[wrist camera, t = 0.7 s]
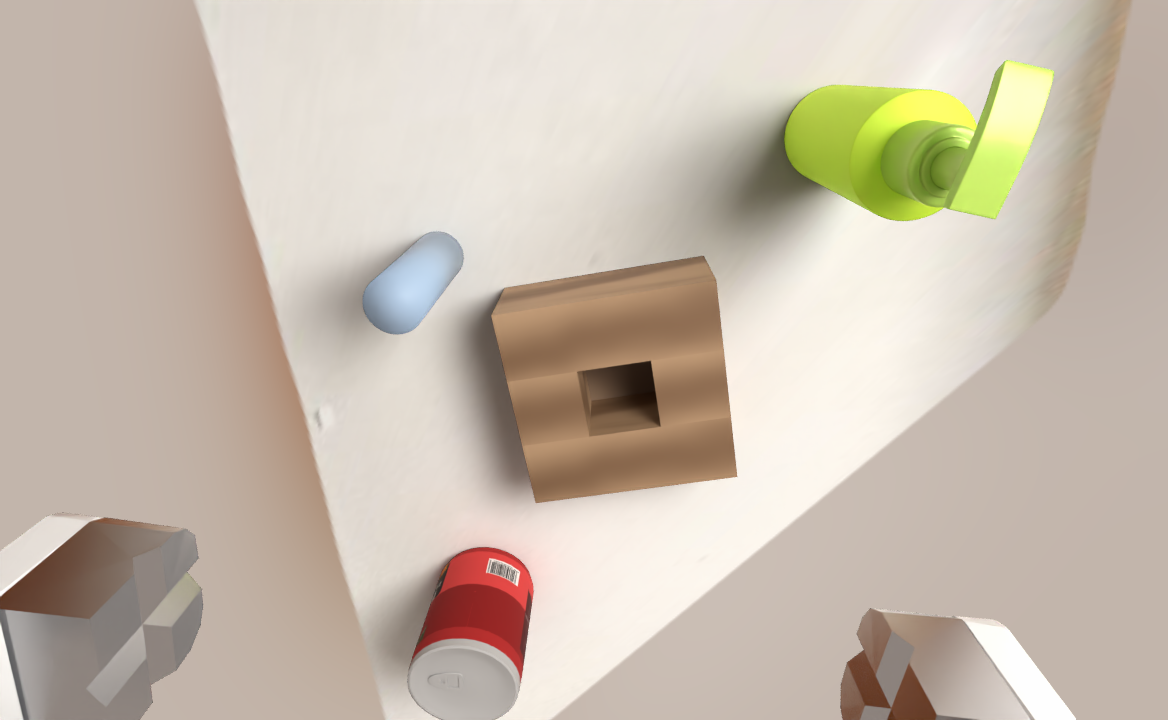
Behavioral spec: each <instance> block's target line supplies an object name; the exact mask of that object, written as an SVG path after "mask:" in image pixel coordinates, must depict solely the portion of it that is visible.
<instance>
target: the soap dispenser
mask: <svg viewBox="0 0 1168 720" xmlns="http://www.w3.org/2000/svg"><path fill="white" fill-rule="evenodd" d="M1053 77H1054V71H1052V70H1049V69H1045V68H1040V67H1036V66H1032V65H1027V64H1023V63H1019V62H1014V61H1010V60H1006V61H1005V62H1004V63H1003V64H1002V65H1001V66H1000V67H999V68H998V70H997V71H996V73H995V75H994V78H993V81H992V85H991V88H990V91H989V95H988V98H987V101H986V104H985V106H984V109H983V112H982V115H981V117H980V120H979V122H978V125H976V122H975V120H974V118H973V116H972V114H971V113H970V111H969V110H968V109H967V108H966V107H965V105H964V104H962V103H961V102H960V101H959V100H957V99H956V98H954V97H953V96H951V95H949V94H946V93H943V92H940V91H935V90H923V89H905V88H886V87H868V86H850V85H831V86H826V87H822V88H820V89H817V90H815V91H813V92H812V93H810V94H809V95H807V96H806V97H805V98H804V99H802V100H801V101H800V102H799V104H798V105H797V106H796V107H795V109H794V110H793V112H792V113H791V115H790V117H789V120H788V122H787V125H786V129H785V137H784V142H785V150H786V153H787V156H788V159H789V161H790V162H791V164H792V165H793V167H794V168H795V169H796V170H797V171H798V172H799V173H800V174H802V175H803V176H805V177H807V178H809V179H810V180H812V181H814V182H816V183H818V184H820V185H822V186H824V187H826V188H827V189H829V190H831V191H833V192H835V193H837V194H839V195H841V196H842V197H844V198H846V199H848V200H850V201H852V202H854V203H856V204H857V205H859V206H861V207H863V208H865V209H867V210H869V211H871V212H872V213H874V214H876V215H878V216H881V217H883V218H886V219H890V220H896V221H910V220H916V219H921V218H924V217H927V216H930V215H932V214H934V213H936V212H938V211H940V210H941V209H943V208H944V207H945V208H947V209H950V210H955V211H959V212H964V213H969V214H973V215H978V216H982V217H987V218H991V219H996V217H997V215H998V213H999V211H1000V209H1001V207H1002V205H1003V203H1004V201H1005V199H1006V197H1007V195H1008V193H1009V191H1010V189H1011V187H1012V185H1013V183H1014V181H1015V179H1016V177H1017V175H1018V173H1019V170H1020V168H1021V166H1022V164H1023V162H1024V160H1025V157H1026V155H1027V153H1028V151H1029V148H1030V146H1031V144H1032V141H1033V139H1034V136H1035V134H1036V131H1037V128H1038V126H1039V123H1040V120H1041V117H1042V114H1043V111H1044V108H1045V105H1046V102H1047V98H1048V95H1049V92H1050V88H1051V85H1052V81H1053Z"/></svg>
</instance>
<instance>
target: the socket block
mask: <svg viewBox="0 0 1168 720" xmlns="http://www.w3.org/2000/svg"><path fill="white" fill-rule="evenodd" d="M491 317H492V321H493V325H494V330H495V334H496V338H497V342H498V346H499V351H500V355H501V359H502V363H503V367H504V372H505V376H506V380H507V384H508V388H509V393H510V397H511V401H512V405H513V409H514V414H515V418H516V422H517V426H518V430H519V435H520V439H521V443H522V447H523V451H524V456H525V460H526V464H527V468H528V472H529V477H530V481H531V485H532V489H533V493H534V498H535V502H536V503H540V502H548V501H555V500H563V499H571V498H578V497H586V496H594V495H601V494H609V493H617V492H624V491H632V490H640V489H647V488H655V487H663V486H670V485H678V484H686V483H693V482H701V481H709V480H716V479H724V478H732V477H737V470H736V461H735V452H734V442H733V433H732V423H731V414H730V405H729V395H728V386H727V377H726V367H725V358H724V349H723V339H722V330H721V321H720V311H719V302H718V293H717V283H716V279H715V277H714V275H713V273H712V271H711V269H710V267H709V265H708V263H707V261H706V259H705V257H704V256H700V257H693V258H687V259H681V260H675V261H669V262H662V263H656V264H650V265H644V266H638V267H632V268H625V269H619V270H613V271H607V272H601V273H594V274H588V275H582V276H576V277H570V278H564V279H557V280H551V281H545V282H539V283H533V284H526V285H520V286H514V287H508V288H504V290H503V292H502V294H501V296H500V298H499V301H498V303H497V305H496V307H495V309H494V311H493V313H492V315H491Z"/></svg>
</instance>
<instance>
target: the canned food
mask: <svg viewBox="0 0 1168 720" xmlns="http://www.w3.org/2000/svg"><path fill="white" fill-rule="evenodd" d="M533 592H534V591H533V583H532V580H531V577H530V574H529V571H528V570H527V568H526V567H525V565H524V564H523V563H522V562H521V561H520V560H519V559H518V558H516V557H515V556H513V555H512V554H510V553H507V552H505V551H502V550H499V549H495V548H488V547H483V548H473V549H469V550H466V551H463V552H461V553H460V554H458V555H456V556H455V557H454V558H453V559H452V560H451V561H450V562H449V563H448V564H447V565H446V566H445V568H444V569H443V571H442V573H441V575H440V578H439V581H438V584H437V587H436V590H435V593H434V595H433V598H432V601H431V604H430V607H429V610H428V613H427V616H426V619H425V622H424V625H423V628H422V631H421V634H420V636H419V639H418V642H417V645H416V648H415V651H414V654H413V657H412V661H411V664H410V667H409V673H408V679H407V683H408V689H409V692H410V694H411V696H412V698H413V699H414V700H415V702H416V703H417V704H418V705H419V706H420V707H421V708H422V709H423V710H424V711H426V712H428V713H429V714H431V715H432V716H434V717H437V718H439V719H441V720H495V719H497V718H499V717H501V716H503V715H504V714H505V713H507V712H508V711H509V710H510V709H511V708H512V706H513V705H514V704H515V701H516V699H517V697H518V693H519V689H520V683H521V678H522V672H523V665H524V657H525V650H526V643H527V636H528V628H529V621H530V614H531V607H532V599H533Z"/></svg>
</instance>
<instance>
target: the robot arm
mask: <svg viewBox="0 0 1168 720" xmlns="http://www.w3.org/2000/svg"><path fill="white" fill-rule="evenodd" d="M197 559H198V551H197V545H196V538H195V535H194V534H193V533H191V532H190V531H188V530H187V529H184V528H178V527H170V526H164V525H156V524H149V523H142V522H135V521H127V520H119V519H113V518H100V517H95V516H87V515H79V514H71V513H64V512H62V513H58V514H54V515H48V516H46V517H45V518H44V519H42V520H41V521H40V522H38V523H37V524H36V525H34V526H33V527H32V528H30V529H29V530H28V531H26V532H25V533H24V534H22V535H21V536H20V537H18V538H17V539H16V540H14V541H13V542H12V543H10V544H9V545H8V546H6V547H5V548H4V549H3V550H1V551H0V720H140V719H141V717H142V716H143V715H144V713H145V712H146V711H147V709H148V708H149V706H150V705H151V704H152V703H153V701H152V692H151V684H153V683H155V682H156V681H158V680H160V679H162V678H164V677H165V676H167V675H169V674H171V673H173V672H174V671H176V670H177V669H178V667H179V666H180V664H181V663H182V661H183V660H184V659H185V657H186V656H187V654H188V653H189V652H190V650H191V648H192V645H193V643H194V640H195V638H196V635H197V633H198V630H199V628H200V625H201V618H202V610H203V599H202V589H201V587H200V586H199V585H198V584H197V583H196V582H195V580H194V579H193V578H192V577H191V576H190V575H189V574H188V572H187V571H188V570H189V569H190V568H191V567H192V565H193V564H194V563H195V562H196V561H197ZM857 636H858V638H859V640H860V643H861V645H862V647H863V649H864V650H863V651H862V652H860V653H859V654H858V655H856V656H855V657H854V658H852V659H851V660H850V661H848V662H847V665H846V668H845V671H844V675H843V678H842V682H841V705H840V708H841V713H842V718H843V720H1076V718H1075V717H1074V716H1073V715H1072V713H1071V712H1070V710H1069V709H1068V708H1067V706H1066V705H1065V704H1064V702H1063V701H1062V700H1061V699H1060V697H1059V696H1058V694H1057V693H1056V692H1055V690H1054V689H1053V688H1052V686H1051V685H1050V684H1049V682H1048V681H1047V680H1046V679H1045V677H1044V676H1043V675H1042V673H1041V672H1040V671H1039V670H1038V668H1037V667H1036V665H1035V664H1034V663H1033V661H1032V660H1031V659H1030V657H1029V656H1028V655H1027V653H1026V652H1025V651H1024V649H1023V648H1022V647H1021V646H1020V644H1019V643H1018V641H1017V640H1016V639H1015V638H1014V636H1013V635H1012V634H1011V632H1010V631H1009V630H1008V628H1007V627H1005V626H1004V625H1002V624H1001V623H999V622H998V621H996V620H992V619H980V618H969V617H959V616H953V617H946V616H937V615H928V614H919V613H910V612H900V611H891V610H882V609H873V608H870V609H869V610H868V611H867V612H866V614H865V615H864V616H863V617H862V620H861V623H860V626H859V629H858V631H857Z"/></svg>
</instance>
